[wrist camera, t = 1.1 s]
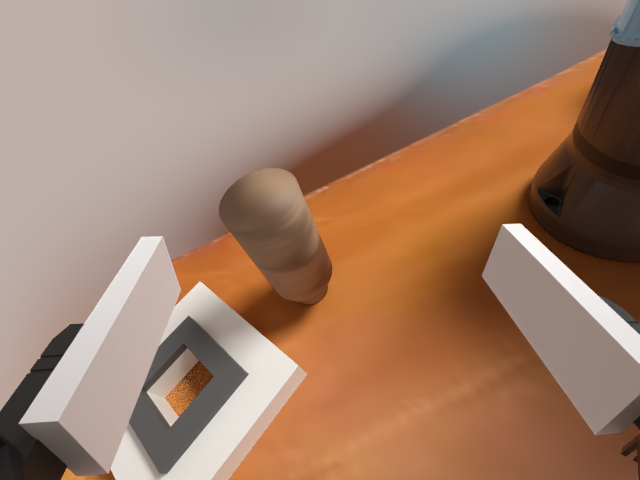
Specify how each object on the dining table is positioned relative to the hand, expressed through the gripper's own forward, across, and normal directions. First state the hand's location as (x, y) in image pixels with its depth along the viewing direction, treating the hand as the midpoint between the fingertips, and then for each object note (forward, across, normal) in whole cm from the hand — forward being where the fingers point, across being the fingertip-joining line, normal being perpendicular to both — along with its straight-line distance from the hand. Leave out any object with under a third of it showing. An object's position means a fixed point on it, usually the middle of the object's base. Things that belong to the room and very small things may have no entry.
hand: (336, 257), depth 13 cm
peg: (+18, 0, -19) cm, 26 cm away
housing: (+9, -13, -25) cm, 29 cm away
